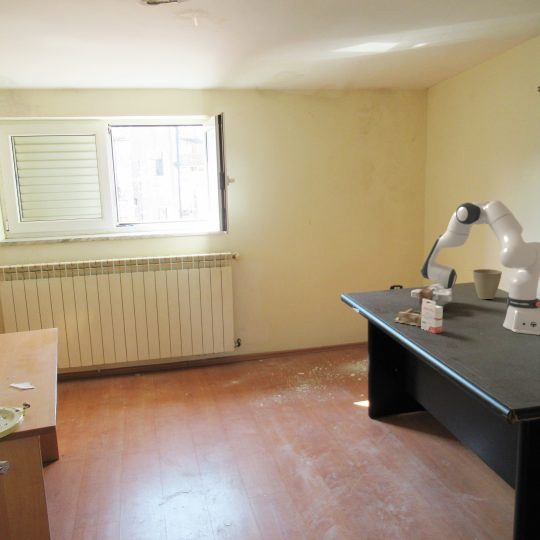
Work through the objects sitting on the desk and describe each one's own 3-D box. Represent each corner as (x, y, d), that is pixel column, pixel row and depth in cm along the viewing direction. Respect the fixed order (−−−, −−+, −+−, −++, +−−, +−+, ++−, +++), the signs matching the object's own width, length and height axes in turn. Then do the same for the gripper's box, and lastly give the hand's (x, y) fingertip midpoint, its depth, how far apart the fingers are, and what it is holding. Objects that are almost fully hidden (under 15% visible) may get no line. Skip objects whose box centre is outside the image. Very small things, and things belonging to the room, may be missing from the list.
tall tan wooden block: (432, 311, 244) (433, 289, 241) (428, 315, 239) (428, 292, 236) (424, 310, 247) (424, 288, 244) (419, 314, 241) (419, 291, 239)
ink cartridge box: (442, 332, 213) (444, 300, 210) (434, 333, 210) (435, 301, 208) (428, 327, 220) (429, 296, 218) (420, 328, 218) (421, 298, 215)
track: (433, 319, 232) (433, 308, 231) (422, 327, 220) (422, 315, 219) (405, 315, 240) (405, 304, 239) (393, 322, 229) (394, 311, 228)
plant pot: (494, 295, 276) (496, 268, 273) (504, 301, 261) (506, 273, 259) (467, 295, 278) (469, 268, 275) (476, 301, 263) (477, 273, 260)
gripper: (416, 285, 258) (406, 290, 247) (454, 289, 245) (446, 294, 235) (416, 296, 259) (406, 301, 248) (454, 300, 246) (446, 306, 236)
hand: (426, 298), depth 241 cm, fingers open, 4 cm apart
